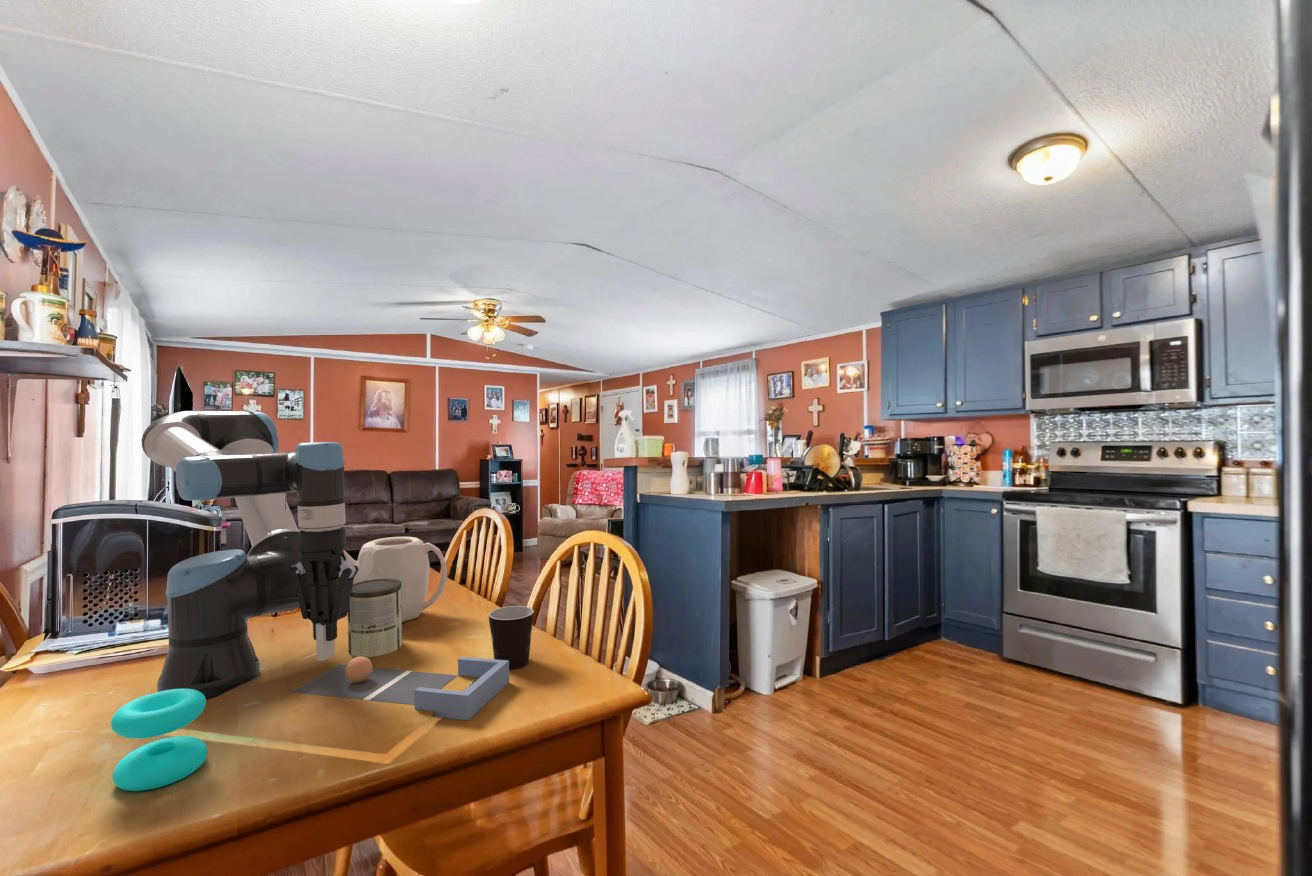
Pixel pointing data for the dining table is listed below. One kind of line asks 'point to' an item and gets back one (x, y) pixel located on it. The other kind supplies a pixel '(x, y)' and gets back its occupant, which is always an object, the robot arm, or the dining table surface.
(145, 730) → the donuts
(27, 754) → the dining table surface
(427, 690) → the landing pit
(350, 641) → the coffee can
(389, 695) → the runway
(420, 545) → the white teapot
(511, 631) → the coffee mug
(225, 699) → the dining table surface
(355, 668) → the ball
